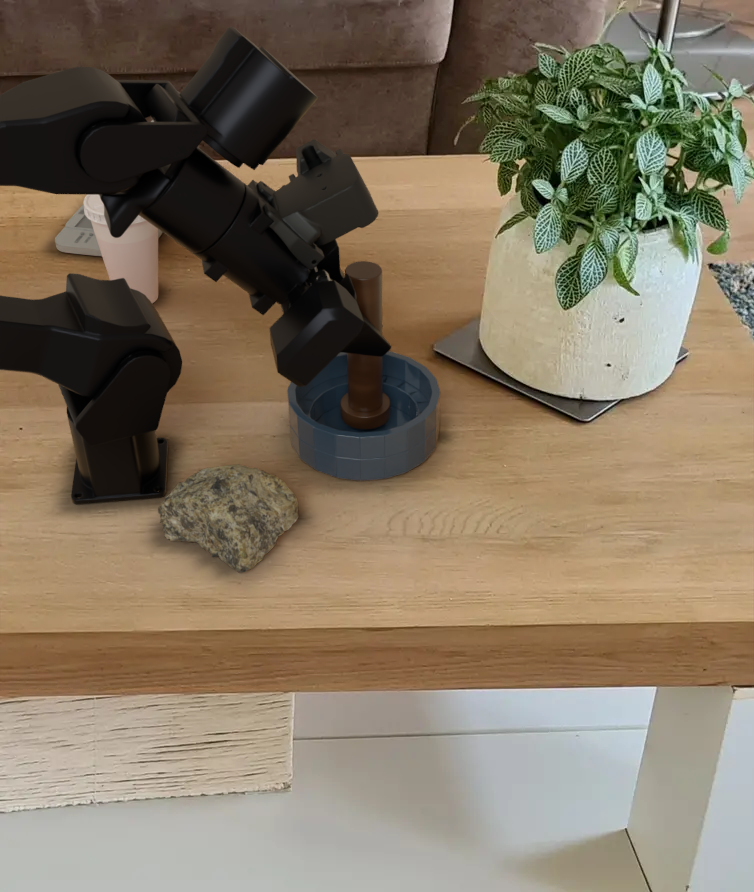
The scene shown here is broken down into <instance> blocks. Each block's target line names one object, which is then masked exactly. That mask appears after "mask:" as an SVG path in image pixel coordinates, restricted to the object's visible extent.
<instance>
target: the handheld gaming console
mask: <svg viewBox="0 0 754 892" xmlns="http://www.w3.org/2000/svg"><path fill="white" fill-rule="evenodd" d="M150 122H154V121H153V120H152V119H151V121H150ZM162 234H164V233H163V232H162V231H160V230H159V229H158V239H159V238H160V237H161V236H162ZM54 243H55V248H56V249H57V250H58V251H59V252H60V253H61V252H62V253H68V254H75V255H86V256H95V257H102V254H101V251H100V248H99V245H98V242H97V239H96V235H95V233H94V229H93V226H92V223H91V220H89V219H88V218H87V217H86V215H85V213H84V203H82V205H81V206H80V207H79V208H77V210H76V211H75V213H74V214H73V215H72V216H71V217H70V218H69V219H68V220H67V222H66V223H65V226H64V227H63V228H62V229H61V230H60V231H59V233H58V234H57V235H55V238H54Z"/></svg>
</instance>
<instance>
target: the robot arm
mask: <svg viewBox="0 0 754 892" xmlns="http://www.w3.org/2000/svg"><path fill="white" fill-rule="evenodd" d="M224 31H225V32H224V33H223V34H222V35H221V36H220V38H219V39H218V41H217V42H216V44H215V45H214V48H213V50H212V52H211V54H210V55H209V56H208V58H207V59H206V60H205V61H204V63H202V64H201V67H200V68H199V69H198V70H197V71H196V73H195V74H194V76H193V77H191V79H190V80H189V82H188V83H187V84H186V85H185V87H184V88H183V89H182V90H181V92H180V91H178V90H177V88H176V87H175V86H174V85H173V84H172V82H171V81H169V80H167V79H165V80H164V79H162V80H161V79H156V80H155V79H154V80H153V79H151V80H150V79H115V78H114V77H113V76H111V75H110V74H109V73H108V72H107V73H106V71H104V70H103V69H100V68H96V67H92V66H75V67H71V68H67V69H63V70H60V71H56V72H52V73H49V74H47V75H43V76H39V77H36V78H33V79H29V80H26V81H22V82H21V83H19V84H17V85H15V86H13V87H12V88H10V89H8V90H6V91H4V92H3V93H1V94H0V187H18V188H24V189H28V190H33V191H38V192H44V193H47V194H53V195H85V196H86V195H99V196H100V198H101V201H102V202H103V204H104V217H105V220H106V222H107V225H108V228H109V231H110V234H111V235H112V236H113V237H115V238H119V237H121V236H122V235H123V234H124V232H125V231H126V230H127V229H128V227H129V226H130V225H131V224H132V222H133V221H134V220H135V219H136V217H137V216H138V215H139V216H141V217H142V218H143V219H145V220H146V221H148V222H149V223H151V224H152V225H153V226H155V227H156V228H158V229H159V230H160V231H162V232H163V233H162V234H165V235H166V236H168V237H169V238H170V239H171V240H173V241H174V242H175V243H177V244H178V245H180V246H181V247H182V248H184V249H186V250H187V251H188V252H190V253H191V254H193V255H194V256H195V257H196V258H199V259H200V260H201V265H202V269H203V274H204V275H205V276H207V278H209V279H211V281H214V282H215V283H217V282H218V281H219V280H220V279H221V278H222V277H223V276H224V277H225V278H227V279H228V280H229V281H230V282H232V283H234V284H235V285H236V286H238V287H239V288H241V289H242V290H243V291H245V292H246V293H248V296H249V301H250V304H251V308H252V309H254V310H255V311H256V312H258V313H259V314H260V315H261V316H264V315H265V314H267V312H268V311H269V310H270V309H271V308H272V307H273V306H274V305H275V304H276V303H277V305H280V308H281V312H282V315H281V316H280V317H278V319H277V320H276V321H275V322H274V323H273V324H272V325H271V326H270V327H269V339H270V348H271V352H272V355H273V359H274V363H275V367H276V370H277V371H276V372H277V374H278V375H281V376H282V377H284V379H286V380H288V381H290V383H291V382H292V383H294V384H295V385H297V386H298V387H302V386H307V385H308V384H309V383H310V382H311V381H312V380H313V379H314V378H315V377H316V376H317V375H318V374H319V373H320V372H321V371H322V370H323V369H324V368H325V367H326V366H327V365H328V364H329V363H330V362H331V361H332V360H333V359H334V358H335V357H336V356H337V355H338V354H339V353H340V352H343V353H352V354H360V355H369V356H377V357H382V356H384V355H385V354H386V353H387V352H388V351H391V349H392V345H391V343H390V342H389V341H388V339H387V338H386V337H385V336H384V335H383V333H382V334H381V333H380V332H379V331H378V330H377V329H376V328H375V326H374V325H373V324H372V323H371V322H370V321H369V320H368V319H367V318H366V317H365V316H364V315H363V314H362V313H361V312H360V309H359V306H358V304H357V301H356V292H355V289H354V287H353V284H352V281H351V279H350V276H349V274H347V275H346V276H345V272H343V270H342V269H341V260H340V259H341V258H340V247H339V244H338V241H337V239H339V238H341V237H342V236H344V235H347V234H349V233H350V232H352V231H354V230H356V229H358V228H361V229H364V228H366V227H367V226H369V225H372V223H374V222H375V221H376V220H377V218H378V216H379V210H378V208H377V206H376V204H375V202H374V201H375V200H374V199H373V197H372V194H371V192H370V190H369V189H368V188H369V187H367V185H366V182H365V181H364V179H363V177H362V175H361V174H360V172H359V170H358V167H357V166H356V164H355V162H354V160H353V158H352V156H351V155H350V154H348V153H344V152H343V150H342V149H341V148H339V149H337V150H335V152H334V151H333V150H332V149H331V148H329V147H327V146H326V145H324V144H322V143H321V142H319V140H317V139H311V140H310V141H307V142H306V143H304V144H301V145H300V146H297V147H296V149H295V151H296V172H297V176H296V175H295V173H292V174H290V175H288V179H289V182H288V183H287V184H284V185H283V184H282V186H281V187H280V188H279V189H276V190H274V189H273V188H271V187H270V186H269V185H268V184H267V183H265V182H264V181H262V180H260V181H258V182H257V181H256V180H254V179H252V180H251V181H250V182H249V183H248V184H246V183H245V182H243V181H242V180H241V179H240V178H238V177H237V176H236V175H235V174H234V173H232V172H230V170H229V169H227V168H225V167H224V166H223V165H222V164H220V162H218V161H216V159H214V158H212V157H211V156H210V155H209V154H208V153H206V152H205V151H204V150H203V149H201V148H200V147H199V146H200V144H201V143H202V142H204V143H205V144H206V145H208V146H209V147H210V148H211V149H212V150H213V151H215V153H217V154H218V155H219V156H221V157H222V158H223V159H225V160H226V161H227V162H229V163H230V164H231V165H233V166H234V167H236V168H238V169H240V168H241V167H242V166H243V164H244V165H245V166H247V167H248V168H250V169H251V170H253V171H256V169H257V168H258V167H259V166H260V165H261V166H264V164H265V163H266V162H267V161H268V160H269V159H270V158H271V156H272V155H273V154H274V152H275V151H276V150H277V149H278V148H279V146H280V145H281V144H282V143H283V142H284V141H285V139H286V138H287V137H288V135H289V134H290V133H291V132H292V131H293V129H294V128H295V127H296V126H297V124H299V122H300V121H301V120H302V118H303V117H304V116H305V115H306V114H307V112H308V111H309V110H310V109H311V107H312V106H313V105H314V104H315V103H316V101H317V100H318V99H319V96H318V95H316V94H315V93H314V92H313V90H312V89H310V88H309V87H308V86H307V85H306V84H305V83H304V82H303V81H302V80H301V79H300V78H298V77H297V76H296V75H295V74H294V73H293V72H292V71H290V69H288V68H287V67H286V66H285V65H284V64H283V63H281V62H280V61H279V60H278V59H277V58H276V57H275V56H273V54H272V53H270V52H269V51H268V50H267V49H266V48H264V47H263V45H260V47H258V46H257V45H256V44H255V43H254V42H253V41H251V40H250V39H249V38H248V37H246V36H245V35H244V34H243V33H241V31H239V30H238V29H237V28H236V27H234V26H229V27H227V28H226V30H224ZM147 118H150V119H151V121H152V120H153V121H154V122H151V121H148V120H147ZM383 327H384V325H383V324H382V328H383ZM182 367H183V358H182V355H181V351H180V349H179V347H178V346H177V344H176V342H175V340H174V339H173V337H172V335H171V333H170V331H169V330H168V327H166V325H165V322H164V321H163V319H162V317H161V315H160V313H159V312H158V310H157V308H156V307H155V305H154V304H153V303H151V301H150V300H149V299H148V298H147V297H146V295H144V294H143V293H141V292H139V291H137V290H134V289H131V288H130V287H129V285H128V284H127V282H126V280H125V279H124V278H120V279H115V280H110V279H98V278H93V277H91V276H87V275H84V274H81V273H72V272H70V273H67V274H66V284H65V291H63V292H60V293H56V294H53V295H50V296H47V297H44V298H39V299H37V298H36V299H34V298H33V299H30V298H23V297H15V296H7V295H0V371H7V372H18V373H28V374H32V375H33V374H34V375H37V376H41V377H42V378H45V379H46V380H49V381H51V382H52V383H55V384H57V386H58V387H59V390H60V393H61V395H62V397H63V400H64V402H65V405H66V416H67V421H68V426H69V430H70V435H71V440H72V444H73V448H74V453H75V458H76V459H75V464H74V472H73V477H72V478H73V479H72V485H71V486H72V488H71V494H70V499H71V502H72V504H74V505H86V504H88V505H89V504H101V503H113V502H123V501H136V500H137V501H138V500H147V499H159V498H162V497H164V496H165V495H167V478H168V477H167V475H168V455H169V453H168V450H169V444H168V439H167V438H166V437H157V430H158V428H159V424H160V421H161V417H162V414H163V410H164V406H165V402H166V399H167V395H168V393H169V392H170V391H171V389H173V387H174V386H175V385H176V384H177V382H178V380H179V378H180V376H181V374H182Z"/></svg>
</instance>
